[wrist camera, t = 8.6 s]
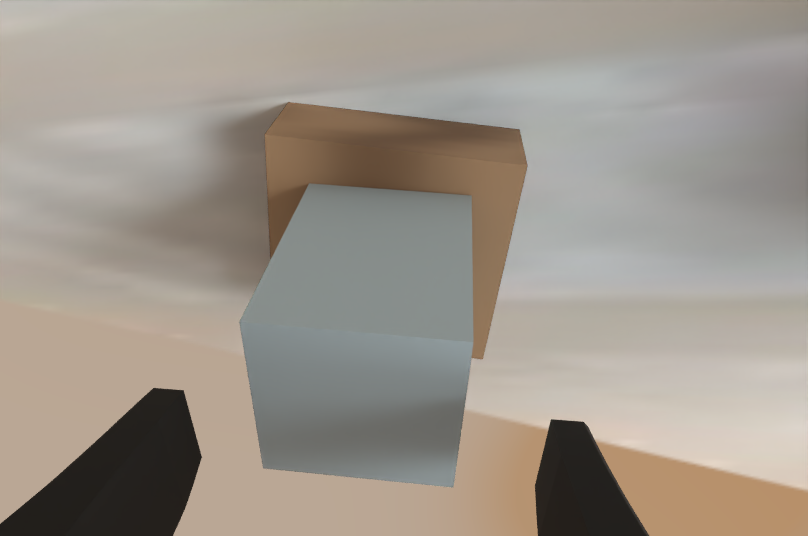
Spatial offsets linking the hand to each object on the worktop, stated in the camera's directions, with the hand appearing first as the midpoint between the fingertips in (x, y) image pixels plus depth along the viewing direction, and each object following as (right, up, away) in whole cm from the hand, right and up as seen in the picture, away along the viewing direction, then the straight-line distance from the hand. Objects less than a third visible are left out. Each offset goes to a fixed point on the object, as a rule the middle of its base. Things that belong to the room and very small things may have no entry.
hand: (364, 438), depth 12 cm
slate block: (0, +4, +6) cm, 7 cm away
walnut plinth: (0, +5, +8) cm, 10 cm away
